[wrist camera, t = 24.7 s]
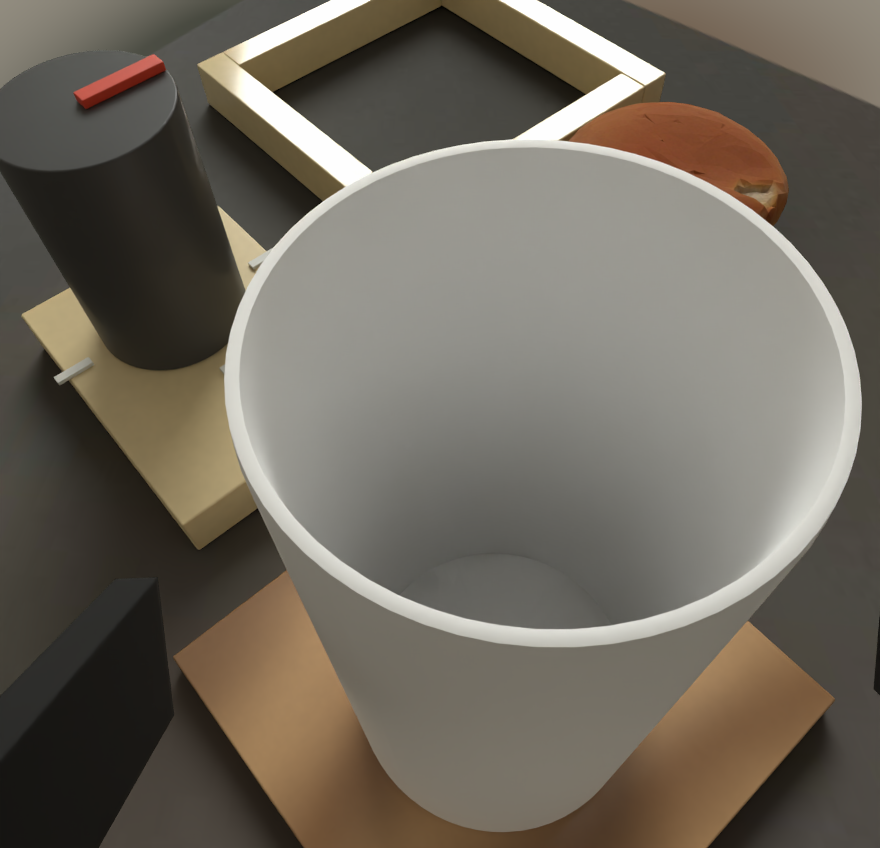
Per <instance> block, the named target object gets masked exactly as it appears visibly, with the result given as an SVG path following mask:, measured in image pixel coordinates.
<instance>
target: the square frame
mask: <svg viewBox="0 0 880 848" xmlns="http://www.w3.org/2000/svg"><path fill="white" fill-rule="evenodd" d="M441 5H442V6H444V7H445V8H447V9H448V10H450V11H452V12H453V13H455V14H457V15H458V16H460V17H461V18H463V19H465V20H466V21H468V22H469V23H471V24H473V25H474V26H476V27H478V28H479V29H481V30H482V31H484V32H486V33H487V34H489V35H491V36H492V37H494V38H495V39H497V40H499V41H500V42H502V43H504V44H505V45H507V46H508V47H510V48H512V49H513V50H515V51H517V52H518V53H520V54H521V55H523V56H525V57H526V58H528V59H530V60H531V61H533V62H534V63H536V64H538V65H539V66H541V67H542V68H544V69H546V70H547V71H549V72H551V73H552V74H554V75H555V76H557V77H559V78H560V79H562V80H564V81H565V82H567V83H568V84H570V85H572V86H573V87H575V88H577V89H578V90H580V91H581V92H583V93H585V94H586V95H585V96H583V97H581V98H580V99H578V100H576V101H575V102H573V103H572V104H570V105H568V106H567V107H565V108H563V109H562V110H560V111H558V112H557V113H555V114H553V115H552V116H550V117H549V118H547V119H545V120H544V121H542V122H540V123H539V124H537V125H535V126H534V127H532V128H530V129H529V130H527V131H526V132H524V133H522V134H521V135H519V136H517V137H516V138H514V139H512V140H533V139H537V140H556V141H569V140H570V138H571V137H573V136H574V135H575V134H576V132H577V131H578V129H580V128H581V127H583V126H584V125H586V124H587V123H589V122H590V121H592V120H594V119H595V118H597V117H599V116H600V115H602V114H604V113H607V112H610V111H613V110H616V109H619V108H622V107H625V106H629V105H633V104H638V103H651V102H660V98H661V94H662V89H663V85H664V81H665V77H666V73H664V72H663V71H661V70H659V69H657V68H656V67H654V66H652V65H650V64H649V63H647V62H645V61H643V60H642V59H640V58H638V57H636V56H635V55H633V54H631V53H629V52H627V51H626V50H624V49H622V48H620V47H619V46H617V45H615V44H613V43H612V42H610V41H608V40H606V39H605V38H603V37H601V36H599V35H598V34H596V33H594V32H592V31H591V30H589V29H587V28H585V27H584V26H582V25H580V24H578V23H576V22H575V21H573V20H571V19H569V18H568V17H566V16H564V15H562V14H561V13H559V12H557V11H555V10H554V9H552V8H550V7H548V6H547V5H545V4H543V3H541V2H540V1H538V0H331V1H329V2H327V3H325V4H323V5H320V6H318V7H316V8H314V9H312V10H310V11H308V12H306V13H304V14H302V15H299V16H297V17H295V18H293V19H291V20H289V21H287V22H285V23H283V24H281V25H279V26H276V27H274V28H272V29H270V30H268V31H266V32H264V33H262V34H260V35H258V36H256V37H253V38H251V39H249V40H247V41H245V42H243V43H241V44H239V45H237V46H235V47H232V48H230V49H228V50H226V51H224V52H223V53H220V54H218V55H216V56H214V57H211V58H209V59H207V60H205V61H203V62H201V63H199V64H197V67H198V70H199V74H200V77H201V80H202V83H203V87H204V90H205V93H206V96H207V100H208V103H209V104H210V105H211V106H212V107H213V108H215V109H216V110H217V111H218V112H219V113H220V114H222V115H223V116H224V117H225V118H226V119H227V120H229V121H230V122H231V123H232V124H233V125H234V126H236V127H237V128H238V129H239V130H240V131H241V132H243V133H244V134H245V135H246V136H247V137H248V138H250V139H251V140H252V141H253V142H254V143H255V144H257V145H258V146H259V147H260V148H261V149H262V150H264V151H265V152H266V153H267V154H268V155H269V156H271V157H272V158H273V159H274V160H275V161H276V162H278V163H279V164H280V165H281V166H282V167H284V168H285V169H286V170H287V171H288V172H289V173H291V174H292V175H293V176H294V177H295V178H296V179H298V180H299V181H300V182H301V183H302V184H303V185H305V186H306V187H307V188H308V189H309V190H310V191H312V192H313V193H314V194H315V195H316V196H317V197H319V198H320V199H321V200H322V201H324V200H326V199H327V198H329V197H330V196H332V195H334V194H335V193H337V192H338V191H340V190H341V189H343V188H344V187H346V186H348V185H350V184H352V183H353V182H355V181H357V180H359V179H361V178H363V177H365V176H366V175H369V174H371V173H373V172H372V171H371V170H370V169H368V168H367V167H366V166H365V165H363V164H362V163H361V162H360V161H358V160H357V159H356V158H355V157H353V156H352V155H351V154H350V153H348V152H347V151H346V150H344V149H343V148H342V147H341V146H339V145H338V144H337V143H336V142H334V141H333V140H332V139H331V138H329V137H328V136H327V135H326V134H324V133H323V132H322V131H321V130H319V129H318V128H317V127H316V126H314V125H313V124H312V123H311V122H309V121H308V120H307V119H305V118H304V117H303V116H302V115H300V114H299V113H298V112H297V111H295V110H294V109H293V108H292V107H290V106H289V105H288V104H287V103H285V102H284V101H283V100H282V99H280V98H279V97H278V96H277V95H275V94H274V93H273V92H274V91H276V90H278V89H279V88H281V87H283V86H285V85H287V84H289V83H291V82H293V81H295V80H297V79H299V78H301V77H303V76H305V75H307V74H309V73H311V72H313V71H315V70H317V69H319V68H321V67H323V66H325V65H327V64H328V63H330V62H332V61H334V60H336V59H338V58H340V57H342V56H344V55H346V54H348V53H350V52H352V51H354V50H356V49H358V48H360V47H362V46H364V45H366V44H368V43H370V42H372V41H374V40H376V39H377V38H379V37H381V36H383V35H385V34H387V33H389V32H391V31H393V30H395V29H397V28H399V27H401V26H403V25H405V24H407V23H409V22H411V21H413V20H415V19H417V18H419V17H421V16H423V15H425V14H426V13H428V12H430V11H432V10H434V9H436V8H438V7H440V6H441Z"/></svg>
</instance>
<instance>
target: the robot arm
mask: <svg viewBox="0 0 880 848" xmlns="http://www.w3.org/2000/svg"><path fill="white" fill-rule="evenodd" d="M874 690H875V691H876V692H877V693H878V694H879V695H880V618H879V630H878V642H877V655H876V667H875V679H874ZM173 716H174V711H173V703H172V694H171V686H170V678H169V669H168V661H167V653H166V644H165V636H164V628H163V619H162V611H161V603H160V594H159V586H158V578H157V577H156V578H129V579H115V580H114V581H113V582H112V583H111V584H110V585H109V586H108V587H107V588H106V589H105V590H104V591H103V592H102V593H101V594H100V595H99V596H98V597H97V598H96V599H95V600H94V601H93V602H92V603H91V604H90V605H89V606H88V607H87V608H86V609H85V610H84V611H83V612H82V613H81V614H80V615H79V616H78V617H77V618H76V619H75V620H74V621H73V622H72V623H71V625H70V626H69V627H68V628H67V629H66V630H65V631H64V632H63V633H62V634H61V635H60V636H59V637H58V638H57V639H56V640H55V641H54V642H53V643H52V644H51V645H50V646H49V647H48V648H47V649H46V650H45V651H44V652H43V653H42V654H41V655H40V656H39V657H38V658H37V659H36V660H35V661H34V662H33V663H32V664H31V665H30V666H29V667H28V668H27V669H26V670H25V671H24V672H23V673H22V674H21V675H20V676H19V677H18V678H17V679H16V680H15V681H14V682H13V683H12V685H11V686H10V687H9V688H8V689H7V690H6V691H5V692H4V693H3V694H2V695H1V696H0V848H99V846H100V844H101V843H102V841H103V839H104V837H105V835H106V834H107V832H108V830H109V828H110V827H111V825H112V823H113V821H114V820H115V818H116V816H117V814H118V813H119V811H120V809H121V807H122V806H123V804H124V802H125V800H126V799H127V797H128V795H129V793H130V791H131V790H132V788H133V786H134V784H135V783H136V781H137V779H138V777H139V776H140V774H141V772H142V770H143V769H144V767H145V765H146V763H147V762H148V760H149V758H150V756H151V754H152V753H153V751H154V749H155V747H156V746H157V744H158V742H159V740H160V739H161V737H162V735H163V733H164V732H165V730H166V728H167V726H168V725H169V723H170V721H171V719H172V718H173Z"/></svg>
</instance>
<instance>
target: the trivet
mask: <svg viewBox="0 0 880 848" xmlns="http://www.w3.org/2000/svg"><path fill="white" fill-rule="evenodd" d="M173 659H174V660H175V662H176V663H177V665H178V666H179V668H180V669H181V670H182V672H183V673H184V675H185V676H186V678H187V679H188V681H189V682H190V684H191V685H192V686H193V688H194V689H195V691H196V692H197V694H198V695H199V697H200V698H201V700H202V701H203V702H204V704H205V705H206V707H207V708H208V710H209V711H210V713H211V714H212V716H213V717H214V718H215V720H216V721H217V723H218V724H219V726H220V727H221V729H222V730H223V732H224V733H225V735H226V736H227V737H228V739H229V740H230V742H231V743H232V745H233V746H234V748H235V749H236V751H237V752H238V753H239V755H240V756H241V758H242V759H243V761H244V762H245V764H246V765H247V767H248V768H249V769H250V771H251V772H252V774H253V775H254V777H255V778H256V780H257V781H258V783H259V784H260V785H261V787H262V788H263V790H264V791H265V793H266V794H267V796H268V797H269V799H270V800H271V801H272V803H273V804H274V806H275V807H276V809H277V810H278V812H279V813H280V815H281V816H282V817H283V819H284V820H285V822H286V823H287V825H288V826H289V828H290V829H291V831H292V832H293V833H294V835H295V836H296V838H297V839H298V841H299V842H300V844H301V845H302V847H303V848H708V847H709V845H710V844H711V843H712V842H713V841H714V840H715V838H716V837H717V836H718V835H719V834H720V833H721V832H722V830H723V829H724V828H725V827H726V826H727V825H728V823H729V822H730V821H731V820H732V819H733V818H734V817H735V815H736V814H737V813H738V812H739V811H740V810H741V808H742V807H743V806H744V805H745V804H746V803H747V802H748V800H749V799H750V798H751V797H752V796H753V795H754V794H755V792H756V791H757V790H758V789H759V788H760V787H761V785H762V784H763V783H764V782H765V781H766V780H767V779H768V777H769V776H770V775H771V774H772V773H773V772H774V770H775V769H776V768H777V767H778V766H779V765H780V764H781V762H782V761H783V760H784V759H785V758H786V757H787V755H788V754H789V753H790V752H791V751H792V750H793V749H794V747H795V746H796V745H797V744H798V743H799V742H800V740H801V739H802V738H803V737H804V736H805V735H806V734H807V732H808V731H809V730H810V729H811V728H812V727H813V725H814V724H815V723H816V722H817V721H818V720H819V719H820V717H821V716H822V715H823V714H824V713H825V712H826V710H827V709H828V708H829V707H830V706H831V705H832V704H833V702H834V701H835V699H834V697H832V696H831V695H830V694H829V693H828V692H827V691H826V690H825V689H824V688H822V687H821V686H820V685H819V684H818V683H817V682H816V681H815V680H813V679H812V678H811V677H810V676H809V675H808V674H807V673H806V672H804V671H803V670H802V669H801V668H800V667H799V666H798V665H797V664H795V663H794V662H793V661H792V660H791V659H790V658H789V657H788V656H787V655H785V654H784V653H783V652H782V651H781V650H780V649H779V648H778V647H776V646H775V645H774V644H773V643H772V642H771V641H770V640H769V639H767V638H766V637H765V636H764V635H763V634H762V633H761V632H760V631H758V630H757V629H756V628H755V627H754V626H753V625H752V624H751V623H750V622H748V621H747V622H746V623H745V624H744V625H743V626H742V627H741V629H740V630H739V631H738V632H737V633H736V634H735V636H734V637H733V638H732V639H731V640H730V641H729V642H728V644H727V645H726V646H725V647H724V648H723V649H722V650H721V652H720V653H719V654H718V655H717V656H716V657H715V659H714V660H713V661H712V662H711V663H710V664H709V665H708V667H707V668H706V669H705V670H704V671H703V672H702V673H701V675H700V676H699V677H698V678H697V679H696V680H695V681H694V683H693V684H692V685H691V686H690V687H689V688H688V689H687V691H686V692H685V693H684V694H683V695H682V696H681V697H680V699H679V700H678V701H677V702H676V703H675V704H674V705H673V707H672V708H671V709H670V710H669V711H668V712H667V713H666V715H665V716H664V717H663V718H662V719H661V720H660V721H659V723H658V724H657V725H656V726H655V727H654V728H653V729H652V731H651V732H650V733H649V734H648V735H647V736H646V738H645V739H644V740H643V741H642V742H641V743H640V744H639V746H638V747H637V748H636V749H635V750H634V751H633V752H632V754H631V755H630V756H629V757H628V758H627V759H626V760H625V762H624V763H623V764H622V765H621V766H620V767H619V768H618V770H617V771H616V772H615V773H614V774H613V775H612V776H611V778H610V779H609V780H608V781H607V782H606V783H605V784H604V786H603V787H602V788H601V789H600V790H599V791H598V792H597V793H596V794H595V795H594V796H593V797H592V798H591V799H590V800H589V801H587V802H586V803H585V804H583V805H582V806H581V807H579V808H578V809H577V810H575V811H573V812H572V813H570V814H568V815H567V816H565V817H563V818H561V819H559V820H556V821H554V822H552V823H550V824H546V825H543V826H540V827H537V828H533V829H528V830H523V831H514V832H488V831H480V830H475V829H470V828H466V827H462V826H459V825H456V824H454V823H451V822H448V821H446V820H444V819H442V818H440V817H437V816H435V815H434V814H432V813H430V812H429V811H427V810H425V809H424V808H422V807H421V806H419V805H418V804H417V803H416V802H414V801H413V800H412V799H410V798H409V797H408V796H407V795H406V794H405V793H404V792H403V791H402V790H401V789H400V788H399V787H398V786H397V785H396V784H395V783H394V782H393V780H392V779H391V778H390V777H389V776H388V774H387V773H386V771H385V770H384V769H383V767H382V766H381V764H380V762H379V761H378V759H377V757H376V755H375V754H374V752H373V750H372V748H371V746H370V743H369V741H368V739H367V737H366V735H365V733H364V731H363V729H362V727H361V725H360V722H359V720H358V718H357V716H356V714H355V712H354V710H353V708H352V706H351V704H350V701H349V699H348V697H347V695H346V693H345V691H344V689H343V687H342V685H341V683H340V681H339V678H338V676H337V674H336V672H335V670H334V668H333V666H332V664H331V662H330V660H329V657H328V655H327V653H326V651H325V649H324V647H323V645H322V643H321V641H320V639H319V636H318V634H317V632H316V630H315V628H314V626H313V624H312V622H311V620H310V618H309V616H308V613H307V611H306V609H305V607H304V605H303V603H302V601H301V599H300V597H299V595H298V592H297V590H296V588H295V586H294V584H293V582H292V580H291V578H290V576H289V574H288V571H287V570H286V571H285V572H284V573H282V574H281V575H280V576H278V577H277V578H276V579H274V580H273V581H272V582H270V583H269V584H268V585H267V586H265V587H264V588H263V589H261V590H260V591H259V592H257V593H256V594H255V595H253V596H252V597H251V598H249V599H248V600H247V601H245V602H244V603H243V604H242V605H240V606H239V607H238V608H236V609H235V610H234V611H232V612H231V613H230V614H228V615H227V616H226V617H224V618H223V619H222V620H221V621H219V622H218V623H217V624H215V625H214V626H213V627H211V628H210V629H209V630H207V631H206V632H205V633H203V634H202V635H201V636H199V637H198V638H197V639H196V640H194V641H193V642H192V643H190V644H189V645H188V646H186V647H185V648H184V649H182V650H181V651H180V652H178V653H177V654H176V655H174V657H173Z"/></svg>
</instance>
